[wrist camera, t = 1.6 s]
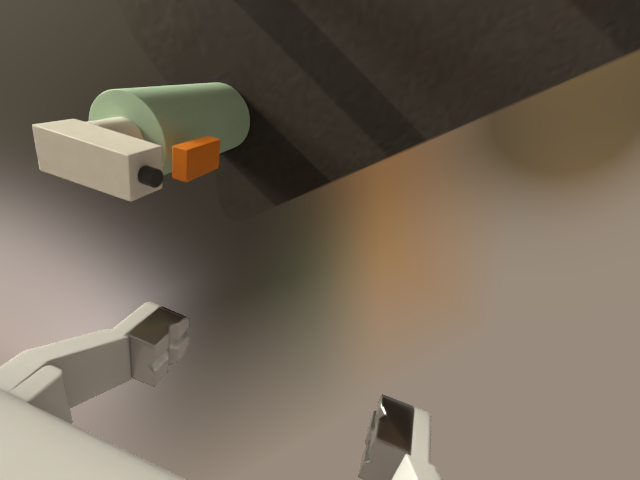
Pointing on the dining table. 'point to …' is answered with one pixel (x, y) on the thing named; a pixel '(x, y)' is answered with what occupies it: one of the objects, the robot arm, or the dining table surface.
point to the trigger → (195, 158)
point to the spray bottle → (139, 135)
